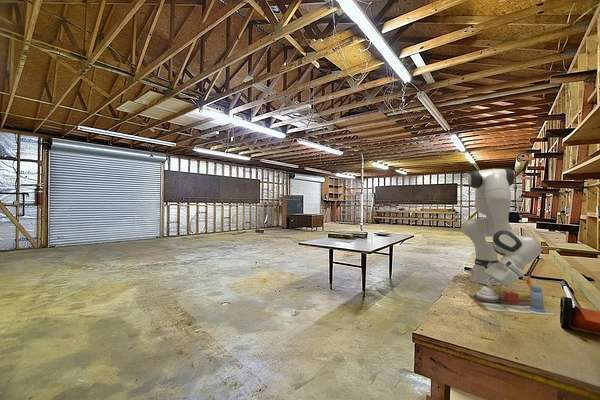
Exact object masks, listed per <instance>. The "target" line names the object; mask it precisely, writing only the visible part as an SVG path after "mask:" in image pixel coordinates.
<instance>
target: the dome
mask: <svg viewBox="0 0 600 400" xmlns="http://www.w3.org/2000/svg"><path fill="white" fill-rule="evenodd" d="M475 294H476V296H477V297H479V298H481V299H486V300H498V299H499V297H500V295H499V294H498V293H496V292H495V291H494V289H493V288H492V287H489V286H487V285H486V286H485V285H484V286H482V287H481V289H479V290H478V291H475Z"/></svg>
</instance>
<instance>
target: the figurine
mask: <svg viewBox="0 0 600 400" xmlns="http://www.w3.org/2000/svg"><path fill="white" fill-rule="evenodd" d="M523 280H524V282H525V283H526V285H527V286H528V288H529V289H530V291H529V292H531V290H532V286H533V285H534V284H533V282H532V281H531V275H526V276H523ZM529 298H530V299H531V293H530V294H529Z"/></svg>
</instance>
